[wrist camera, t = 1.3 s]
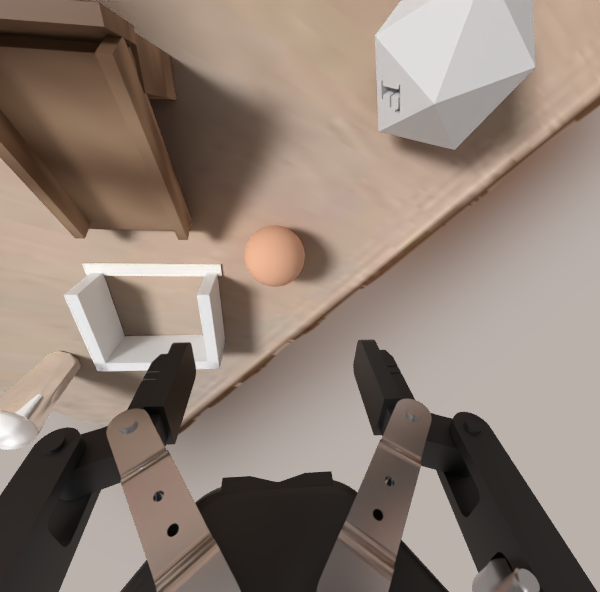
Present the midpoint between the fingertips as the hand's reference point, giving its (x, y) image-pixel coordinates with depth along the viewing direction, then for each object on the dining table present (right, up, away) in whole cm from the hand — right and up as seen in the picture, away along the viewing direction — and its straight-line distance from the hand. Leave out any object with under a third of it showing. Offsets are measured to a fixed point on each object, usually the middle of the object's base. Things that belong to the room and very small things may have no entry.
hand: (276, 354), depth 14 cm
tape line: (-12, +5, +12) cm, 18 cm away
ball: (-1, +6, +10) cm, 12 cm away
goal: (-12, +1, +15) cm, 19 cm away
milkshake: (-25, -4, +17) cm, 30 cm away
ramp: (-12, +13, +7) cm, 19 cm away
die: (+9, +19, +6) cm, 22 cm away
